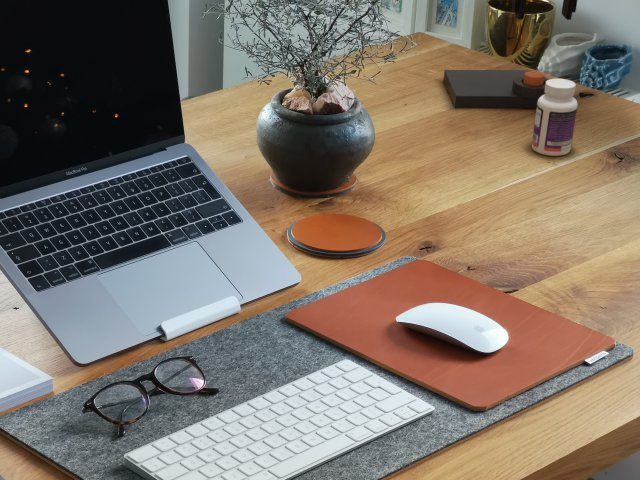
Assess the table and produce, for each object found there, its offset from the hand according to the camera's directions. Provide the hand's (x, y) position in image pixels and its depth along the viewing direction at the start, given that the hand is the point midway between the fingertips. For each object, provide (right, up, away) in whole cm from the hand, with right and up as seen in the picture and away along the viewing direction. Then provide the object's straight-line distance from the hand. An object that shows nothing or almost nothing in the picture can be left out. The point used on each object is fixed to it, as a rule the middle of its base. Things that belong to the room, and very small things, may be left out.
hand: (542, 15), depth 165 cm
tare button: (0, -9, +5) cm, 11 cm away
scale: (-5, -10, +10) cm, 15 cm away
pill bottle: (-1, -21, -8) cm, 23 cm away
